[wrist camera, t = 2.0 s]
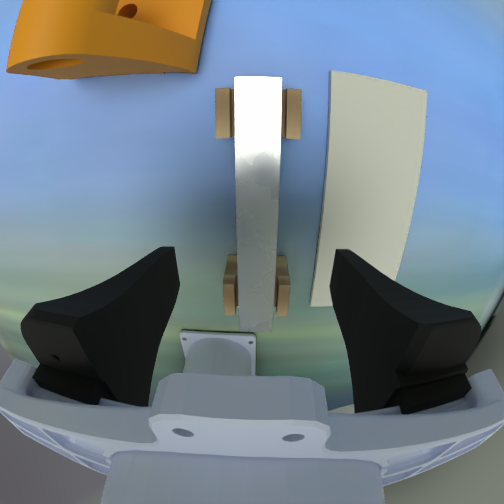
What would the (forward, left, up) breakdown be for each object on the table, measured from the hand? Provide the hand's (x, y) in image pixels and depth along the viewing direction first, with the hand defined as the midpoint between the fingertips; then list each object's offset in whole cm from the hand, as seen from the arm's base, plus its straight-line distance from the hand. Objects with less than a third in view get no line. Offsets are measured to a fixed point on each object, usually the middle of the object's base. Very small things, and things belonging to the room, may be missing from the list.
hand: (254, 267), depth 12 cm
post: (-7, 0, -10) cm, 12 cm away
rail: (0, 0, -7) cm, 7 cm away
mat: (0, -9, -10) cm, 13 cm away
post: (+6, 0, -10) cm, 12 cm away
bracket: (+14, +9, -10) cm, 19 cm away
